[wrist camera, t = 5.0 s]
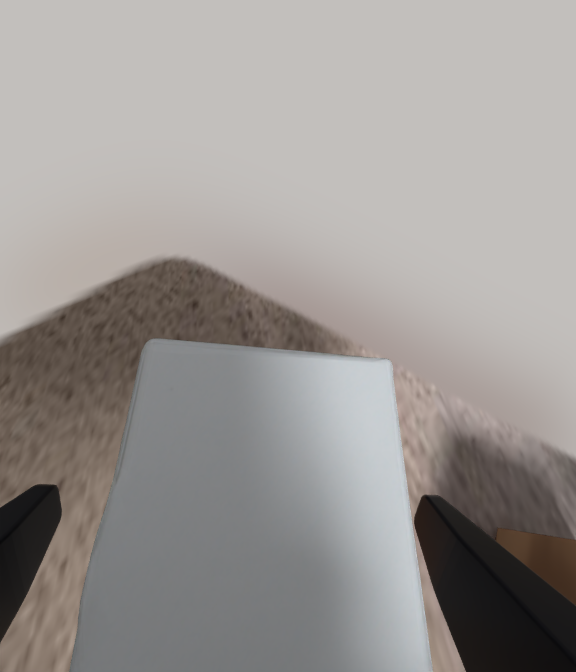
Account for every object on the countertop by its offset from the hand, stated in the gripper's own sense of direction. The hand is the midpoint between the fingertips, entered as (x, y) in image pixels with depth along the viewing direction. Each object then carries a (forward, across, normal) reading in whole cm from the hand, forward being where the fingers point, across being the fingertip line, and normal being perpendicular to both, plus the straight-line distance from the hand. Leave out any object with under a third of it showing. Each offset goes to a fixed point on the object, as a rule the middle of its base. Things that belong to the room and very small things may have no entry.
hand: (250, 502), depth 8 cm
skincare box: (+5, 0, +6) cm, 8 cm away
